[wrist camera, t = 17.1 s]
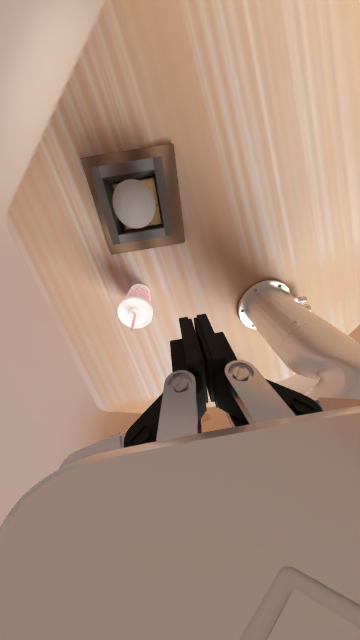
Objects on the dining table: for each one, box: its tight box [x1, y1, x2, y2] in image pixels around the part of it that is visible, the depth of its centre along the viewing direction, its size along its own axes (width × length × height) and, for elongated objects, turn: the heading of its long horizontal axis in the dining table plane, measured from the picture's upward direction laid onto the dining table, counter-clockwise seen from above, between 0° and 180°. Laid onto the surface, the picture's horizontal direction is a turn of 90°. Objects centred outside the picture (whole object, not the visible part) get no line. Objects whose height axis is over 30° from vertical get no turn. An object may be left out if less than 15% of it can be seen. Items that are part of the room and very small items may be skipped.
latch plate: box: [113, 178, 161, 230], centre depth 31 cm, size 6×6×1 cm
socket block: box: [81, 144, 185, 255], centre depth 30 cm, size 14×14×7 cm
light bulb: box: [113, 179, 156, 228], centre depth 27 cm, size 6×6×10 cm
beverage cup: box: [117, 284, 153, 331], centre depth 35 cm, size 6×6×14 cm
